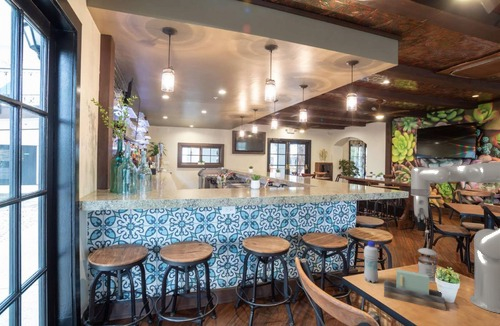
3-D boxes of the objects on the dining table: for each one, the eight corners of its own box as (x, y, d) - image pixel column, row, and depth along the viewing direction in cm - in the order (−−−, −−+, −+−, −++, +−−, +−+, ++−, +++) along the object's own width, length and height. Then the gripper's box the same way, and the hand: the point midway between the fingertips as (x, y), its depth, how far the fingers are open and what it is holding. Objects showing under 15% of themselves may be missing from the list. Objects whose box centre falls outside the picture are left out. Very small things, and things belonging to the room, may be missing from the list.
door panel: (427, 295, 111) (428, 274, 111) (429, 299, 107) (429, 278, 107) (396, 288, 116) (396, 269, 116) (396, 292, 113) (396, 272, 113)
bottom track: (440, 296, 112) (440, 289, 112) (445, 310, 102) (445, 302, 102) (384, 285, 123) (384, 278, 123) (384, 296, 112) (384, 288, 112)
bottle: (375, 278, 130) (375, 239, 130) (380, 284, 124) (380, 243, 124) (361, 277, 131) (361, 239, 131) (366, 283, 124) (366, 243, 124)
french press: (411, 275, 134) (411, 228, 134) (427, 272, 137) (427, 226, 137) (429, 283, 124) (429, 233, 124) (446, 280, 128) (446, 231, 128)
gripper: (432, 195, 111) (432, 233, 111) (427, 191, 127) (427, 225, 127) (412, 194, 115) (412, 231, 115) (409, 190, 130) (409, 223, 130)
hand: (420, 228), depth 121 cm, fingers open, 9 cm apart
